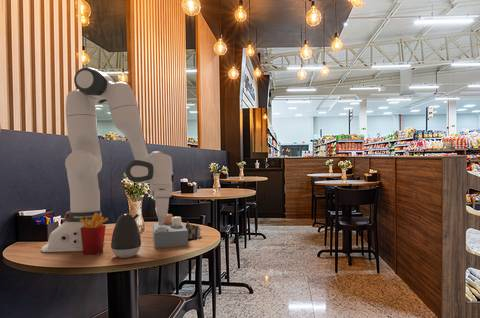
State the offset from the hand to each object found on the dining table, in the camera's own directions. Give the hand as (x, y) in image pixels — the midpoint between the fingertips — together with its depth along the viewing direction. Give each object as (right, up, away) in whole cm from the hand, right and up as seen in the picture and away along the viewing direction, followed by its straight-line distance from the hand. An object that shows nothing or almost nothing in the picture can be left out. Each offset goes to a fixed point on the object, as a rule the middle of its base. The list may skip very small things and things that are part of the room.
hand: (160, 225), depth 135 cm
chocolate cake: (+11, -9, +14) cm, 20 cm away
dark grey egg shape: (-9, -8, -15) cm, 19 cm away
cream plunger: (+5, -3, +8) cm, 10 cm away
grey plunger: (+1, -6, 0) cm, 6 cm away
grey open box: (+2, -8, +8) cm, 12 cm away
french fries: (-22, -8, -10) cm, 25 cm away
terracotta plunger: (-1, -3, +16) cm, 17 cm away
